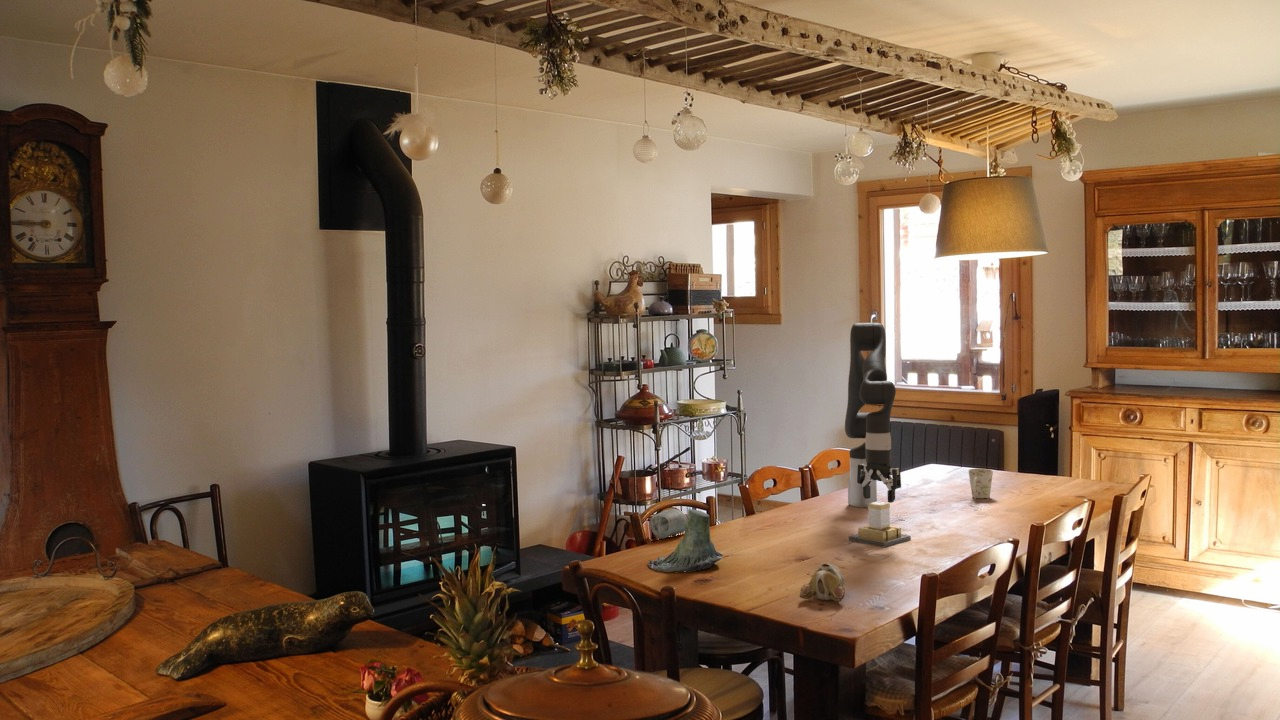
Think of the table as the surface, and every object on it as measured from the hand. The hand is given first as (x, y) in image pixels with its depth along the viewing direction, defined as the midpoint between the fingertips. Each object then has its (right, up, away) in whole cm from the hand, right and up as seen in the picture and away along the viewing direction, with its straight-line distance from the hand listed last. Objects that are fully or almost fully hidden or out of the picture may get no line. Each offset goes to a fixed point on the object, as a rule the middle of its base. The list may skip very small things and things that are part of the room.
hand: (879, 500), depth 295 cm
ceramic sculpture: (-27, -16, -58) cm, 66 cm away
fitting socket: (0, -12, 0) cm, 12 cm away
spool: (-63, -13, +14) cm, 66 cm away
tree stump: (-59, -15, -23) cm, 65 cm away
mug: (+52, -8, +61) cm, 80 cm away
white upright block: (0, -11, 0) cm, 11 cm away
